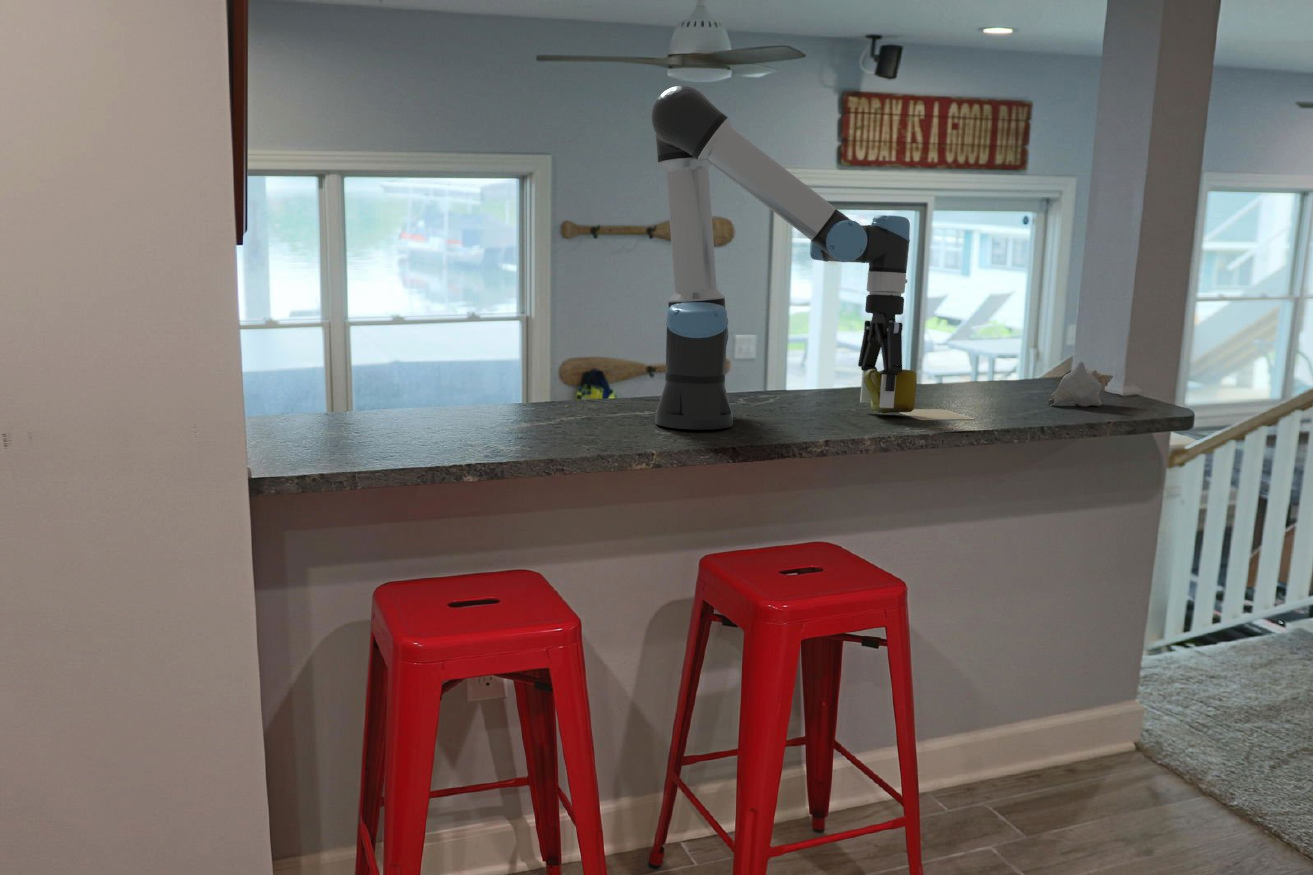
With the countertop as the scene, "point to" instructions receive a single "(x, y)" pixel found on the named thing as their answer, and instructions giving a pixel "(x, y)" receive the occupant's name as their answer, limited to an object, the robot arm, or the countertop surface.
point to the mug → (903, 390)
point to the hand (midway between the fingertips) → (876, 405)
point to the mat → (935, 415)
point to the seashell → (1081, 387)
